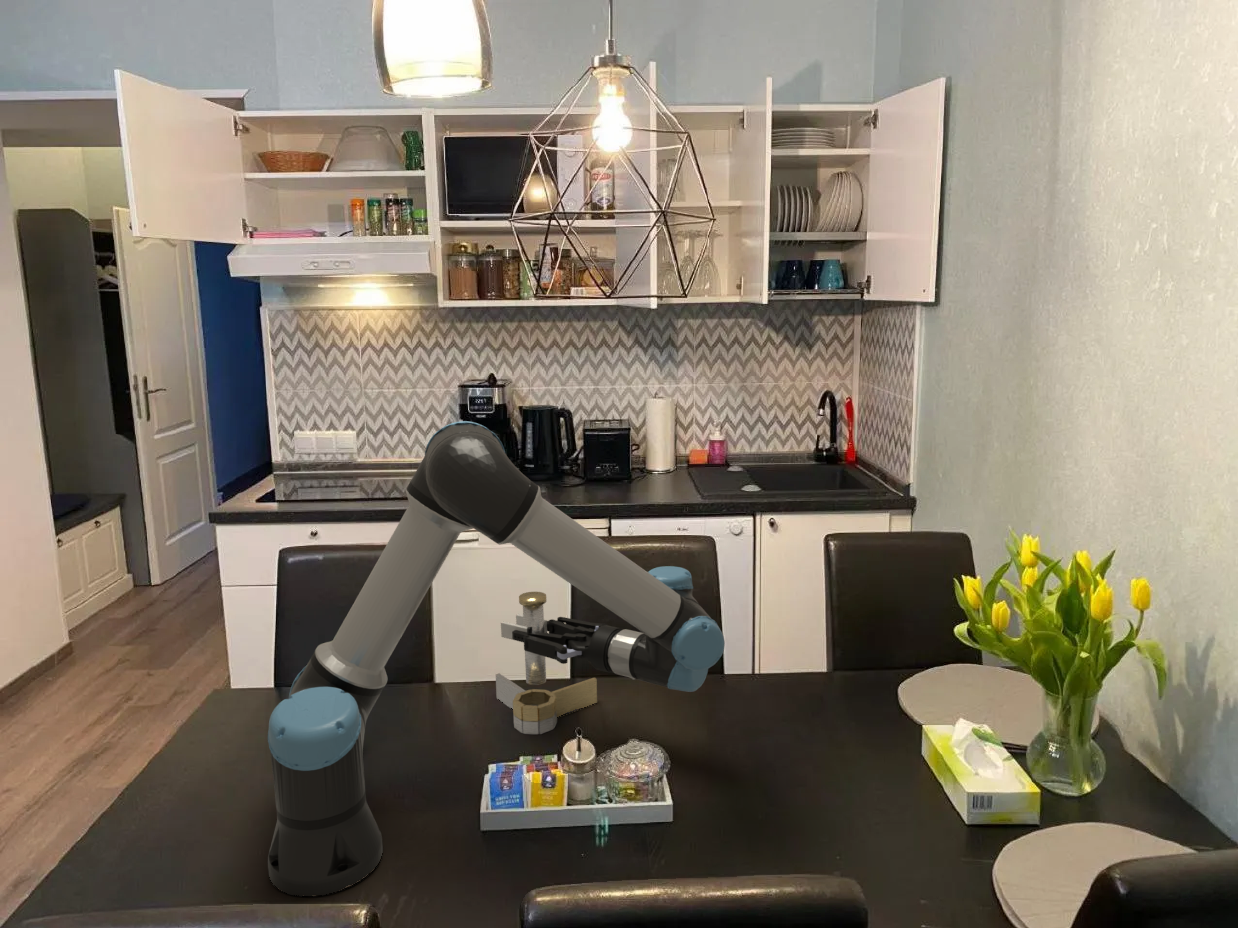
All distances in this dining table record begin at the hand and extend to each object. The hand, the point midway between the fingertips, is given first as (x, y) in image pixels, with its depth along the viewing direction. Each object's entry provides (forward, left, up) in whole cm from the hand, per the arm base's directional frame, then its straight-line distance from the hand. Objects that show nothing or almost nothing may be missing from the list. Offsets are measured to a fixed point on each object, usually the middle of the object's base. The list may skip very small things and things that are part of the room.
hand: (510, 625), depth 162 cm
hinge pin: (-2, -5, -9) cm, 11 cm away
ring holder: (+1, -5, -18) cm, 18 cm away
